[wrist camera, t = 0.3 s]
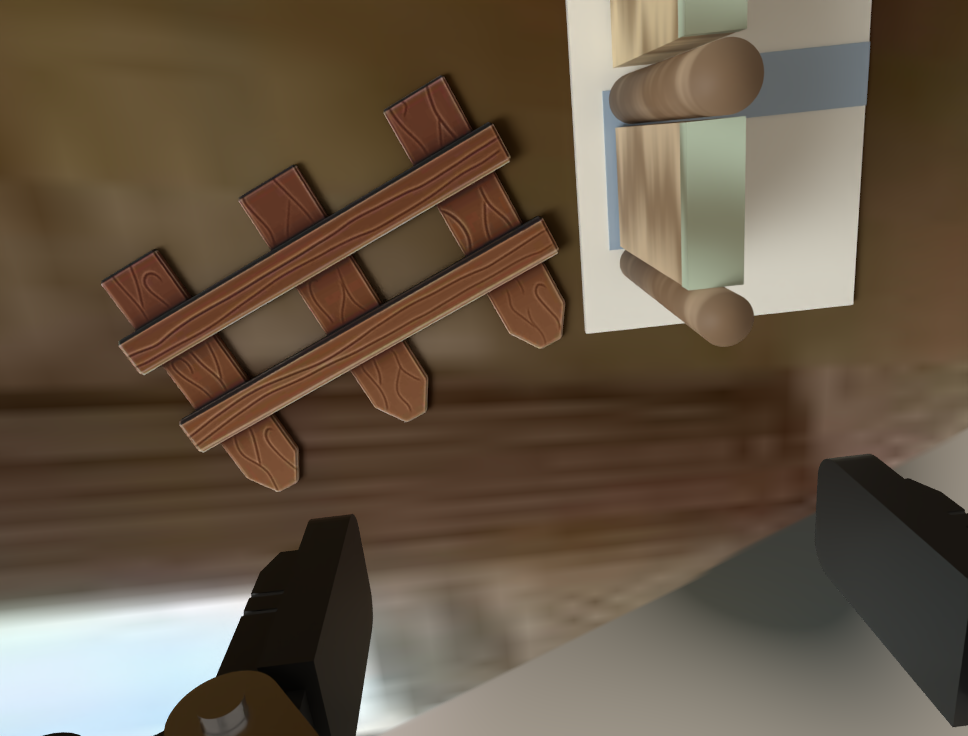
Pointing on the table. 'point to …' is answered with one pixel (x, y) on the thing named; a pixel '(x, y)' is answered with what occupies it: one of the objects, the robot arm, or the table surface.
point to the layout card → (768, 165)
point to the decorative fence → (344, 289)
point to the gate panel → (669, 27)
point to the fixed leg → (688, 183)
